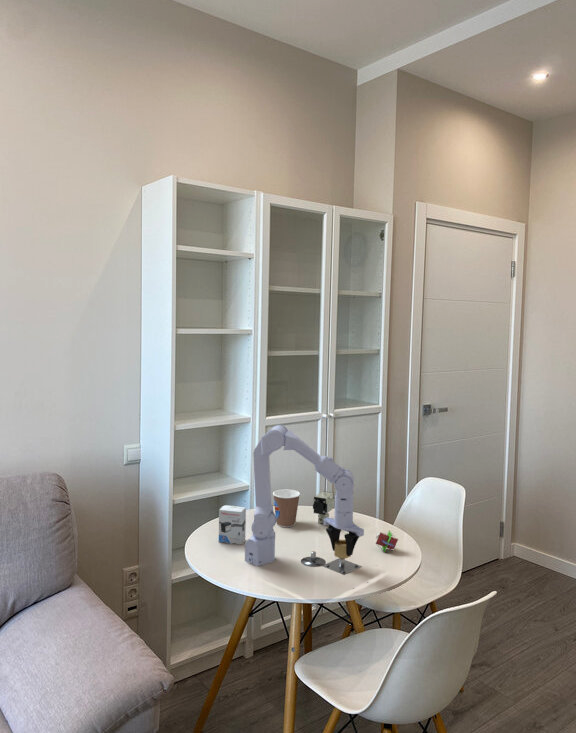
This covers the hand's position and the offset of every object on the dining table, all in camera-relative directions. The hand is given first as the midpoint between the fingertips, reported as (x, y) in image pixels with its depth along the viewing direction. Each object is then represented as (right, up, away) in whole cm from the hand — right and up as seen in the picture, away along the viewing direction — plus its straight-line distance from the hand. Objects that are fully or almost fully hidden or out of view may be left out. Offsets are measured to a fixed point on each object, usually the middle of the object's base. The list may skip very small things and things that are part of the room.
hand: (342, 552), depth 189 cm
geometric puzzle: (+16, -5, +16) cm, 24 cm away
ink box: (-37, -3, +21) cm, 43 cm away
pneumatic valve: (-3, -2, +42) cm, 42 cm away
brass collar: (0, -1, 0) cm, 1 cm away
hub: (0, -5, 0) cm, 6 cm away
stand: (-9, -5, +3) cm, 11 cm away
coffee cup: (-18, -2, +40) cm, 43 cm away
